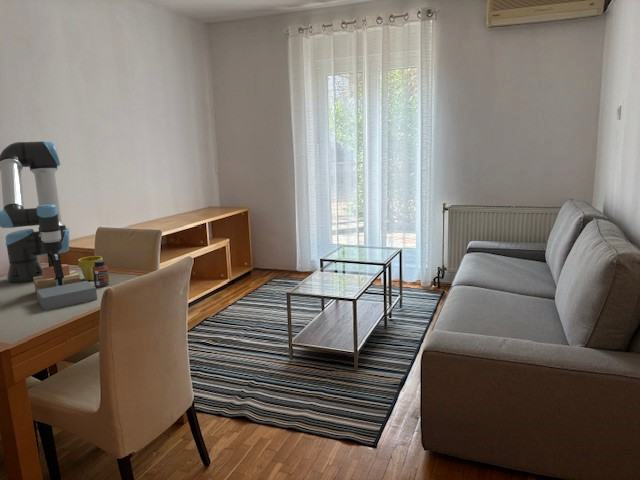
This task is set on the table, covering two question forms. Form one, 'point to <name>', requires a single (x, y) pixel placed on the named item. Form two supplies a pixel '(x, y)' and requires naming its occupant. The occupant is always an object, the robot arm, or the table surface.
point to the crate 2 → (65, 269)
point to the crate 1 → (48, 272)
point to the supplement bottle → (100, 274)
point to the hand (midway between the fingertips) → (58, 290)
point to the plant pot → (88, 266)
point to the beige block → (50, 282)
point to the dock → (66, 295)
